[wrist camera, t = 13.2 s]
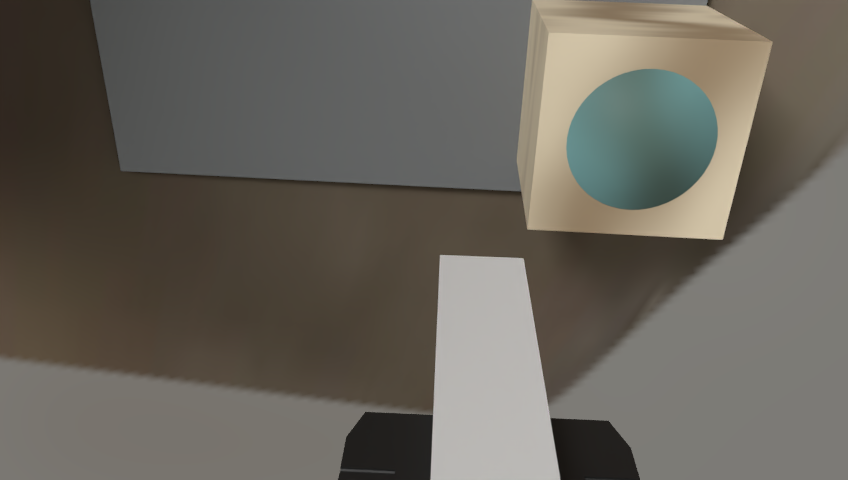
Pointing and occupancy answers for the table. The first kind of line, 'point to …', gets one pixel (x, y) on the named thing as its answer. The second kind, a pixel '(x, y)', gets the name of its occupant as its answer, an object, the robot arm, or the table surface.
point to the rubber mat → (320, 88)
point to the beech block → (635, 117)
